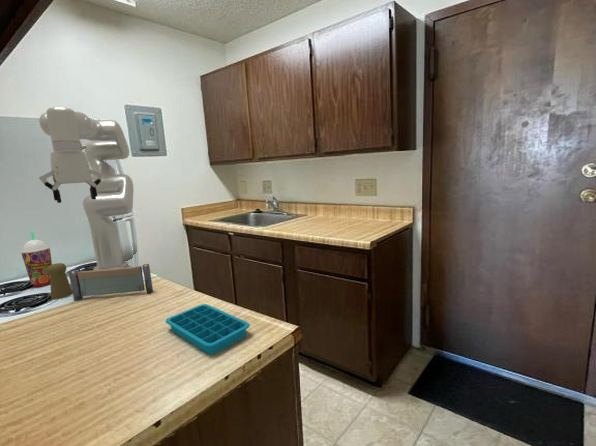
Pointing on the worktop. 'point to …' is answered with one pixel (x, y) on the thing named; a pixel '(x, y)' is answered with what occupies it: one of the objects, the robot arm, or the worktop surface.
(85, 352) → the worktop surface
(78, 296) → the gate posts
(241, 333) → the ice cube tray
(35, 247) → the smoothie
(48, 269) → the cork
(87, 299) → the worktop surface
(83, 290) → the gate
